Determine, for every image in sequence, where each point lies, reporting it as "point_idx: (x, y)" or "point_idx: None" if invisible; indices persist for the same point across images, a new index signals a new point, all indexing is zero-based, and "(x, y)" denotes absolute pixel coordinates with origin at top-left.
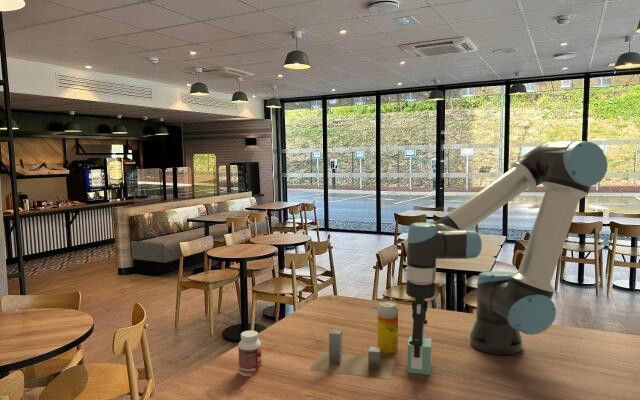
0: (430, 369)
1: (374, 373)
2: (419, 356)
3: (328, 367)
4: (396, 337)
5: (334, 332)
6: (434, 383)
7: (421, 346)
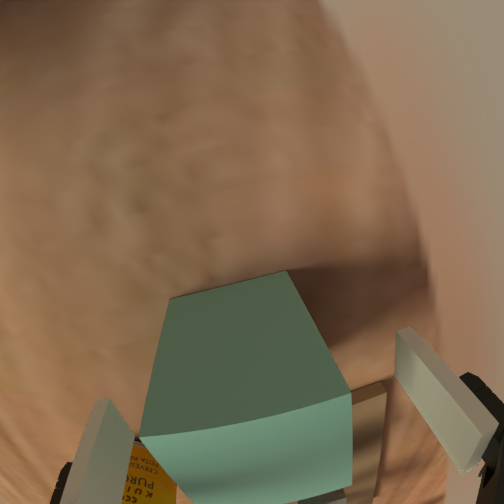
0: (262, 295)
1: (357, 439)
2: (477, 377)
3: (351, 500)
4: (128, 498)
5: None
6: (321, 238)
7: (491, 420)
